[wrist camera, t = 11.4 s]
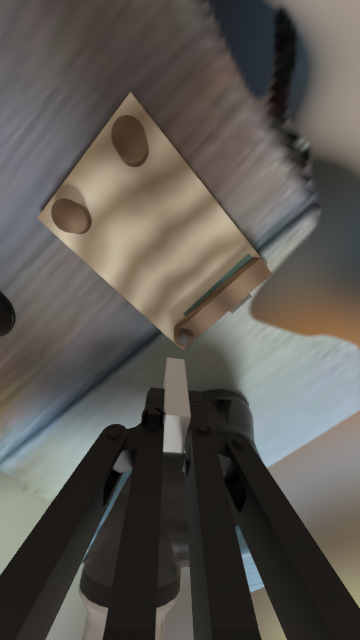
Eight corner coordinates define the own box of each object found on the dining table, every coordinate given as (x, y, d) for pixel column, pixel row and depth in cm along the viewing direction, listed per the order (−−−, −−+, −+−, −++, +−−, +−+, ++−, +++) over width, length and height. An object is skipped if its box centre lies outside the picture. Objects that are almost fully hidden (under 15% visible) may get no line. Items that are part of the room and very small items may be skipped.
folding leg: (182, 341, 36) (183, 353, 32) (169, 329, 35) (169, 339, 31) (264, 271, 32) (276, 275, 28) (252, 256, 31) (263, 257, 27)
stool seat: (266, 270, 34) (281, 274, 30) (181, 345, 39) (183, 359, 34) (133, 103, 26) (124, 71, 22) (45, 219, 31) (22, 214, 26)
